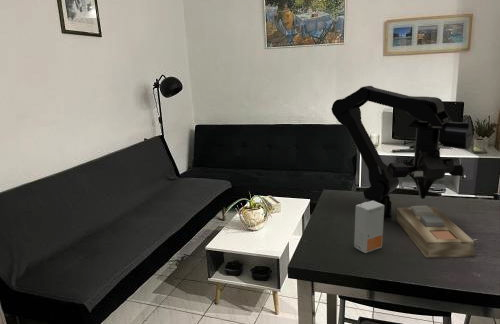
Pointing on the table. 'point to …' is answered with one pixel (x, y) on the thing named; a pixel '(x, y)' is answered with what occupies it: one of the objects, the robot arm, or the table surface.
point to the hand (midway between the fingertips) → (422, 198)
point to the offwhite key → (421, 210)
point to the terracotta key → (443, 235)
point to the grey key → (432, 221)
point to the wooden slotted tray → (428, 241)
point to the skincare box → (369, 226)
